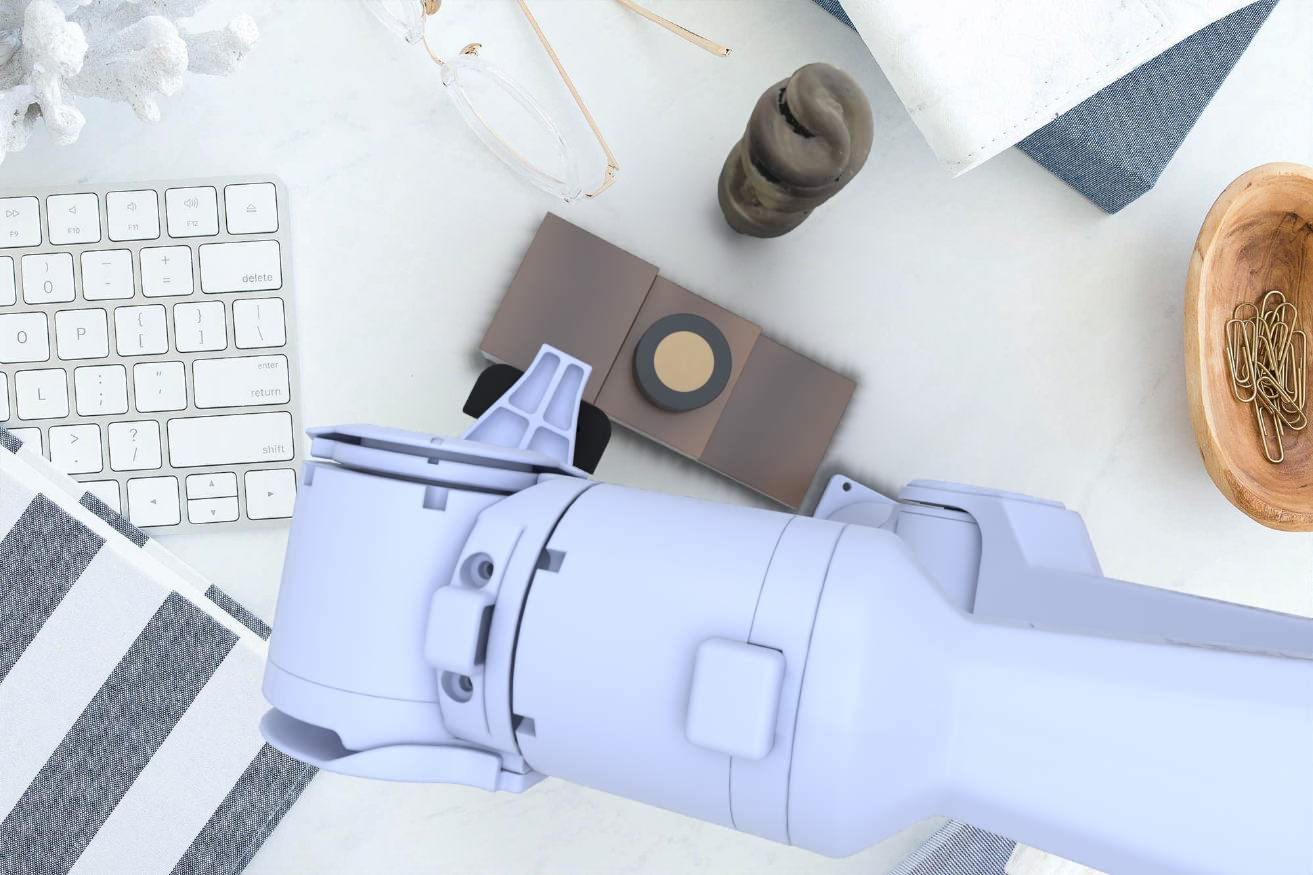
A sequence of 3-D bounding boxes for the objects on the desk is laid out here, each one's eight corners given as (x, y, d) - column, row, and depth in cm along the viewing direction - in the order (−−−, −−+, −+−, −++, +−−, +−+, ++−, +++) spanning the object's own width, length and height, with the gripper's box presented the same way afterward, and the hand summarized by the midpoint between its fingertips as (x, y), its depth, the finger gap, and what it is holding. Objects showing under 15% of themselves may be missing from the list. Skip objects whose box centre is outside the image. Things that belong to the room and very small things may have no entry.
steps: (849, 385, 54) (876, 378, 49) (791, 508, 53) (813, 513, 49) (548, 232, 52) (547, 210, 47) (485, 358, 51) (478, 348, 47)
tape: (738, 345, 50) (748, 340, 47) (698, 428, 49) (706, 426, 47) (656, 304, 49) (661, 296, 47) (615, 387, 49) (619, 383, 47)
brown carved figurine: (738, 145, 53) (809, 23, 38) (813, 202, 54) (913, 103, 39) (682, 223, 53) (733, 130, 38) (759, 279, 53) (839, 209, 38)
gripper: (454, 281, 28) (487, 338, 42) (237, 708, 28) (342, 626, 41) (657, 382, 29) (624, 406, 43) (452, 803, 28) (485, 691, 42)
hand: (495, 518), depth 42 cm, fingers open, 7 cm apart
